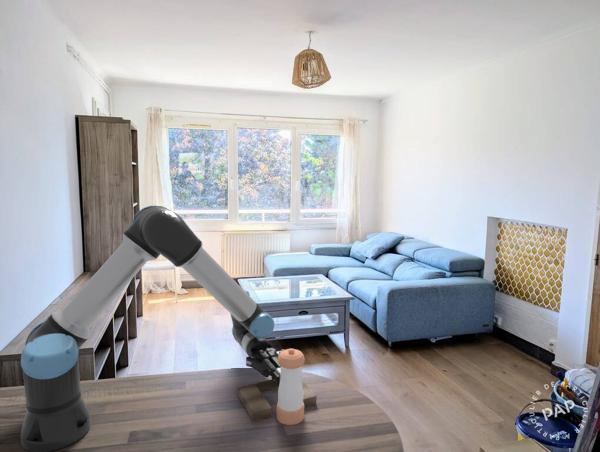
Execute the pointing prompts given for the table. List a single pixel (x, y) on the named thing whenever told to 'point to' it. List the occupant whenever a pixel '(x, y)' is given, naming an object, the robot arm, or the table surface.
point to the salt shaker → (290, 387)
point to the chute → (258, 403)
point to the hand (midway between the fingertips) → (288, 383)
